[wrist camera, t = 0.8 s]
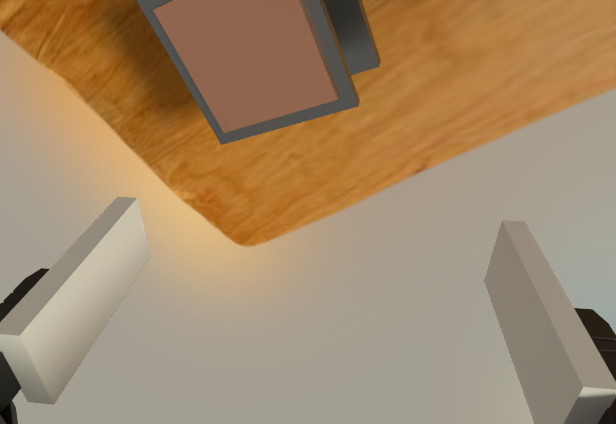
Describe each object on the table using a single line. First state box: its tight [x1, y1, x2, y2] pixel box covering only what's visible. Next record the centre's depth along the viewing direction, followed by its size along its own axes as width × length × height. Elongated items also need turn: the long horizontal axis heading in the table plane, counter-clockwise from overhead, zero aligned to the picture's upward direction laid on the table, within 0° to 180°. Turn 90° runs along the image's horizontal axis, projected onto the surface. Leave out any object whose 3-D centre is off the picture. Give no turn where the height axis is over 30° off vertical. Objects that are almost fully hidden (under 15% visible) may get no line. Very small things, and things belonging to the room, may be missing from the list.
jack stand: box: [136, 0, 381, 145], centre depth 31 cm, size 12×12×9 cm
